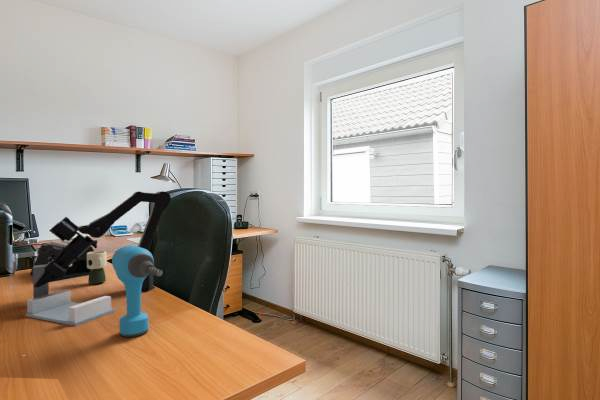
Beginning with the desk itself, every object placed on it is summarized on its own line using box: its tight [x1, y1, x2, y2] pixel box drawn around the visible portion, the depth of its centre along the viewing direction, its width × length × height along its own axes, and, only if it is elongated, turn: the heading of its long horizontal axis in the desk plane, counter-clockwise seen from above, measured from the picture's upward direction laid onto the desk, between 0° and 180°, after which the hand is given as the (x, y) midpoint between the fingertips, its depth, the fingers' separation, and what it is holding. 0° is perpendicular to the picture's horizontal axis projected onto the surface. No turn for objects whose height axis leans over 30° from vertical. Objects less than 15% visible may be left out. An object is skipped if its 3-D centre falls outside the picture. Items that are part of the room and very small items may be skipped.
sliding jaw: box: [26, 289, 72, 314], centre depth 113 cm, size 2×12×4 cm, turn 159°
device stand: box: [29, 239, 95, 283], centre depth 164 cm, size 22×22×15 cm
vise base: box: [25, 295, 116, 327], centre depth 110 cm, size 22×13×5 cm, turn 69°
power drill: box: [111, 245, 163, 338], centre depth 91 cm, size 28×9×23 cm, turn 43°
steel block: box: [32, 264, 50, 298], centre depth 119 cm, size 4×4×13 cm
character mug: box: [87, 250, 108, 285], centre depth 146 cm, size 11×7×13 cm, turn 44°
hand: (36, 285), depth 118 cm, fingers closed on steel block, 4 cm apart
